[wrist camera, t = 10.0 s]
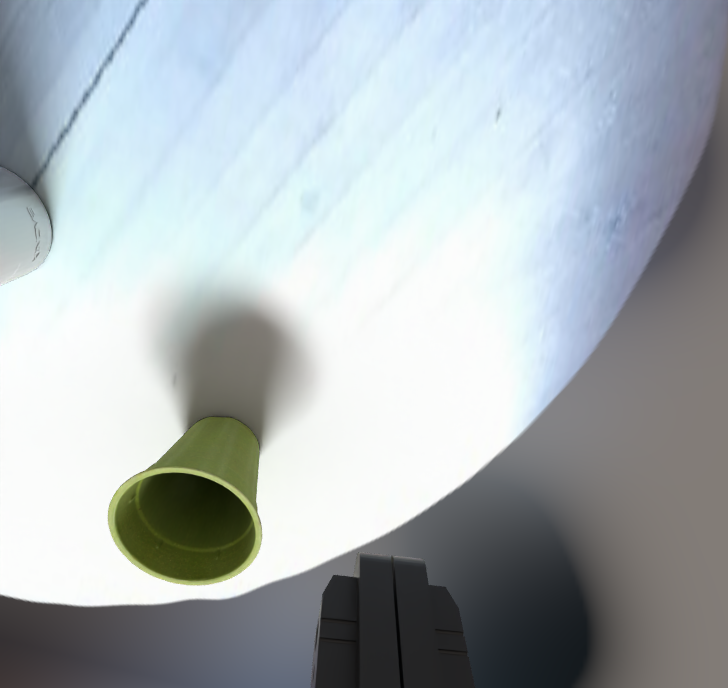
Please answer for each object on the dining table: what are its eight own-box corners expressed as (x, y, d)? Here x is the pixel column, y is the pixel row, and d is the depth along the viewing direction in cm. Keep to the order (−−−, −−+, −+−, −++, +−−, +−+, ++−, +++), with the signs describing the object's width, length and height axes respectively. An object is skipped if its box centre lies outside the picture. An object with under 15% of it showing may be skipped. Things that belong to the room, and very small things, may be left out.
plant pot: (179, 374, 46) (128, 445, 36) (300, 420, 48) (284, 500, 38) (146, 471, 50) (90, 560, 40) (258, 509, 52) (233, 603, 42)
